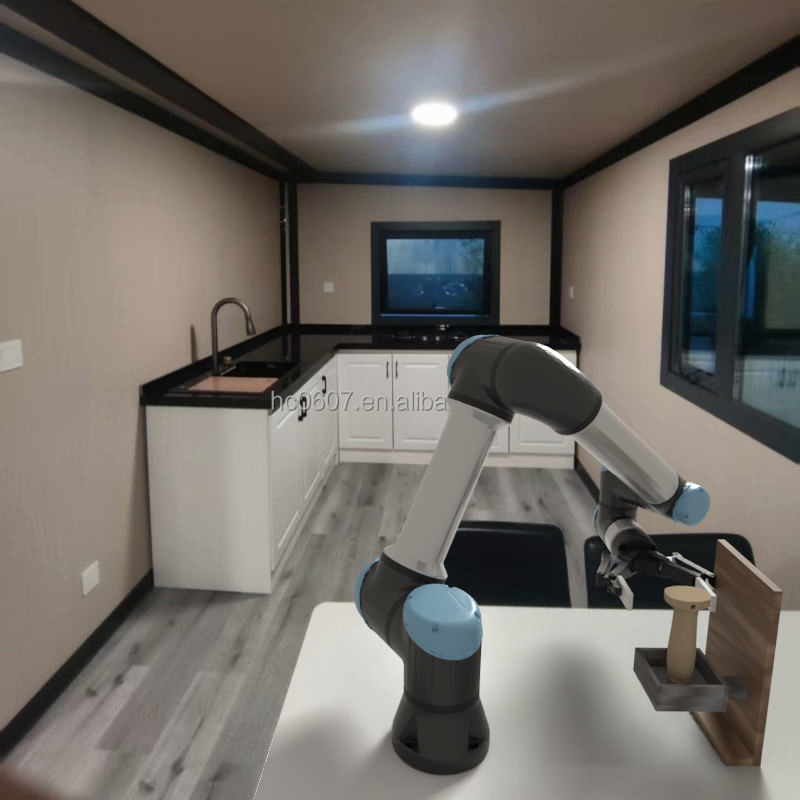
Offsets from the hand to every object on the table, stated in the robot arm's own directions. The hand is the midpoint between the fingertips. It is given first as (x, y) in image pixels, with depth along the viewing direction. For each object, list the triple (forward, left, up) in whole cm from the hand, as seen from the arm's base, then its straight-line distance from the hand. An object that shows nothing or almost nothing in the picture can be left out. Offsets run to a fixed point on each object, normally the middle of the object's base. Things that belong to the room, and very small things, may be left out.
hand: (672, 603), depth 107 cm
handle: (0, -5, -11) cm, 12 cm away
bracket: (+3, -1, -21) cm, 21 cm away
